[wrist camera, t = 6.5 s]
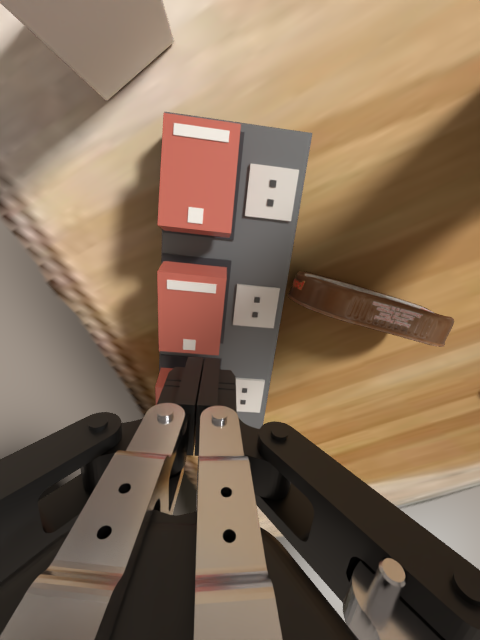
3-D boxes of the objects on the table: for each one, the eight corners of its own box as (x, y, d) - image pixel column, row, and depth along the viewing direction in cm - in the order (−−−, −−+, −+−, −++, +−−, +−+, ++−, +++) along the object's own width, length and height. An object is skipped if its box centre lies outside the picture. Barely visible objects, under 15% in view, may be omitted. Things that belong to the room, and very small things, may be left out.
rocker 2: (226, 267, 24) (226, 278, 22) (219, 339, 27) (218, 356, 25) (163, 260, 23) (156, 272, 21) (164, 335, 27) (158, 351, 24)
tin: (279, 289, 31) (298, 317, 23) (289, 260, 30) (313, 278, 22) (405, 325, 33) (463, 361, 25) (419, 298, 32) (483, 328, 24)
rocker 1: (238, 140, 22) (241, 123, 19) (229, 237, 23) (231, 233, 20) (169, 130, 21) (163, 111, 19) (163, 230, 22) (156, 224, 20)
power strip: (299, 144, 26) (314, 130, 22) (257, 407, 36) (262, 435, 31) (173, 126, 25) (162, 108, 21) (165, 402, 35) (156, 430, 30)
